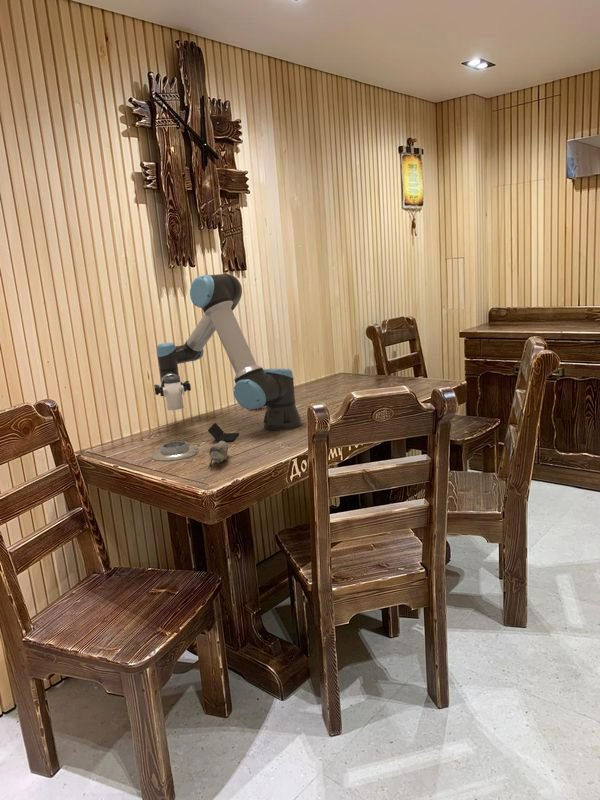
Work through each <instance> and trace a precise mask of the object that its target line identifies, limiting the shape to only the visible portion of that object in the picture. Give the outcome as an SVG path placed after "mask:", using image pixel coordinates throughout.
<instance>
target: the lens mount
mask: <svg viewBox="0 0 600 800" xmlns="http://www.w3.org/2000/svg"><path fill="white" fill-rule="evenodd" d="M189 444H190V443H189V441H186V440H173V441H168V442H165V443H163V444H161V445H160V446H159V449H157V450H154V451H153V452H152V454H151V457H152V459H153V460H154V461H157V460H158V462H159V461H160V462H172V461H173V462H174V461H180V460H184V459H188V458H190V457H193V456H195V455H197V454H198V453H199V447H198V446H197V445H193V444H191V445H189Z"/></svg>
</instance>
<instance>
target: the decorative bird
mask: <svg viewBox="0 0 600 800" xmlns="http://www.w3.org/2000/svg"><path fill="white" fill-rule="evenodd" d="M208 450H209V452H208V453H209V458H210V462H209V466H208V467H207V469H209V468H210V470H213V469H215V468H214V466H213V465H212V464H213V463H216V464H217V467H216V468H222V469H223V466H222V465H221V463H222V462H223V461H224V460H227V458H228V455H229V454H228V451H229V446H228V442H227V443H226V442H224V441H220V442H219V443H218V442H217V443H215V444H213V445H212V446H211V447H210V448H209V449H208Z"/></svg>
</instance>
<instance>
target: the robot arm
mask: <svg viewBox="0 0 600 800" xmlns="http://www.w3.org/2000/svg"><path fill="white" fill-rule="evenodd" d="M190 284H191V285H190V289H189V297H190V301H191V303H192V304H193V305H194V306H195V307H197V308H200V309H202V312H203V314H204V315H203V316H202V317H201V319H200V320H199V322H198V323H197V324H196V326H195V328H194V329H193V331H192V332H191V334H190V335H189V337H188V338H187V339H186V340H185V342H184V344H181V345H175V344H176V343H173V342H164V343H159V344H158V345H157V346H156V356H157V361H158V366H159V368H158V369H159V376H160V384H154V385H153V387H154V393H155V396H160V397H164V398H166V391H165V386H164V378H165V377H169V376H180V375H179V374H180V373H179V367H178V365H179V364H184V363H188V362H195V361H198V360H200V359H202V357H204V347H206V345H207V343H208V342H209V340H210V339H211V338H212V337H213V335H214V333H215V332H216V333H217V335H218V337H219V340H220V342H221V344H222V347H223V348H224V351H225V353H226V355H227V358H228V360H229V362H230V364H231V366H232V369H233V371H234V373H235V377H234V379H233V380H234V383H235V384H234V387H233V395H234V398H235V401H236V402H237V404H238V405H240V407H242V408H243V409H246V410H249V411H252V410H253V409H259V408H261V407H262V408H263V407H265V414H264V418H263V421H262V422H263V423H262V425H263V429H265V430H268V431H285V430H292V429H296V428H298V427H301V426H302V417H301V415H300V413H299V410H298V408H297V406H296V405H297V404H296V395H295V384H294V380H295V378H294V375H293V370H292V369H291V368H263V367H262V366H260V365H258V364H257V362H256V360H255V358H254V356H253V354H252V351H251V349H250V347H249V344H248V343H247V340H246V338H245V336H244V333H243V331H242V329H241V327H240V325H239V322H238V320H237V318H236V315H235V314H234V310H235V308H236V307H237V306H238V304H239V302H240V301H241V298H242V295H243V288H242V284H241V282H240V280H239V279H238V278H237V277H236V276H234V275H232V274H230V273H220V274H204V275H199V276H197V277H196V278H194V279H193V280H192V282H191V283H190ZM180 382H181V391H182V396H184V395H185V393H186V392H187V391H192V387H191V383H190V381H189V380H186V381H183V382H182V381H180ZM159 394H160V395H159Z"/></svg>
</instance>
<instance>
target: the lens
mask: <svg viewBox="0 0 600 800" xmlns="http://www.w3.org/2000/svg"><path fill="white" fill-rule="evenodd" d="M181 382H182V381H181V376H180V375H179V376H169V377H165V378H164V386H165V391H166V397H165V401H166V408H167V410H168V411H178V410H181V409H182V410H183V409H185V408H184V400H183V395H182V391H181Z"/></svg>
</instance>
